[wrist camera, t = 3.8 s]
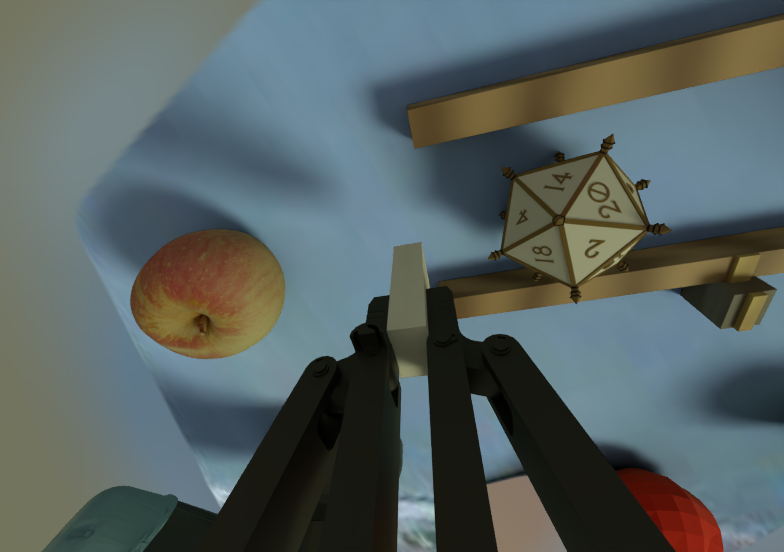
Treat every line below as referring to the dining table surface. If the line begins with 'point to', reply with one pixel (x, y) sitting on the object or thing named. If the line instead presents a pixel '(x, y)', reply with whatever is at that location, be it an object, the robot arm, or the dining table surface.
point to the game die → (574, 218)
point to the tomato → (674, 511)
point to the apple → (209, 294)
